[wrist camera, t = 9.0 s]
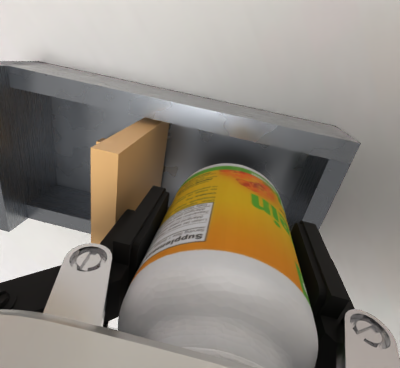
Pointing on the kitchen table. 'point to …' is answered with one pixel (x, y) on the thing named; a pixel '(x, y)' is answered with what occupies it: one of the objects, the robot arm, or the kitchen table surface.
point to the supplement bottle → (224, 275)
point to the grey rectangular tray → (175, 148)
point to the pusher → (125, 172)
